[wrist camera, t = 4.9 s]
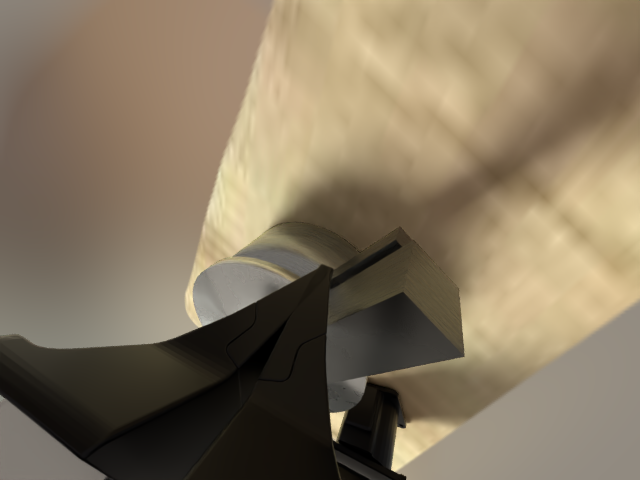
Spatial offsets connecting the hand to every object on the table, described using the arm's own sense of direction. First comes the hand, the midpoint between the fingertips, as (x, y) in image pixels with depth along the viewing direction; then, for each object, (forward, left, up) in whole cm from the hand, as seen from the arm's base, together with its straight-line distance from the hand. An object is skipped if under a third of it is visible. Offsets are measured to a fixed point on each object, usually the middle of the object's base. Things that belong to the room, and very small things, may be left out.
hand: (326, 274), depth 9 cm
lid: (-6, +5, -2) cm, 8 cm away
